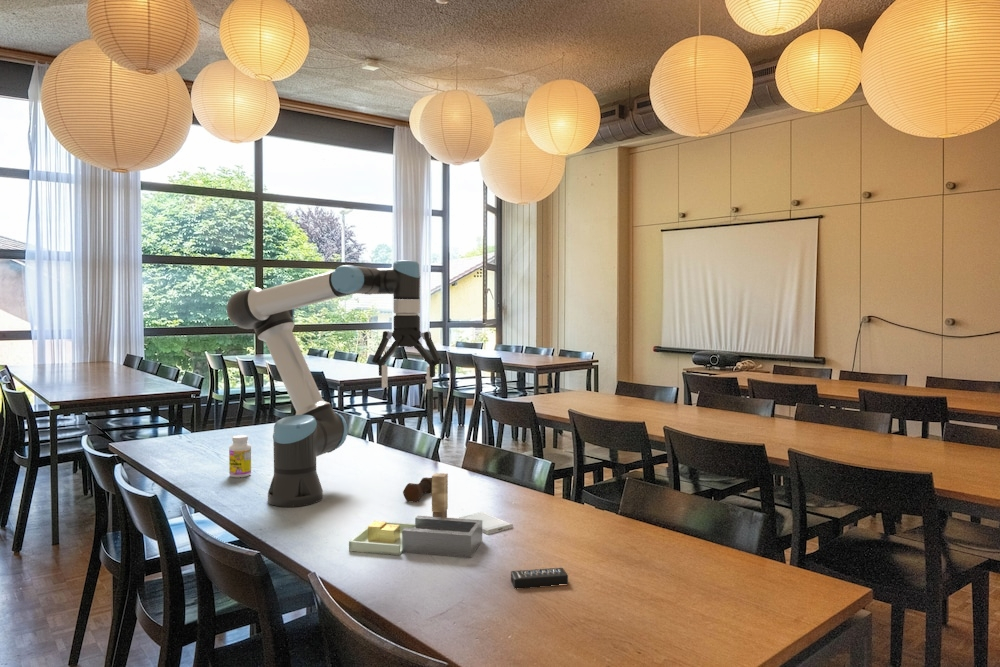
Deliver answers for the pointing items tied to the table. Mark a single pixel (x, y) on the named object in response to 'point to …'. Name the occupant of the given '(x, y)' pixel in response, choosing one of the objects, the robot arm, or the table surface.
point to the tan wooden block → (389, 533)
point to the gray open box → (443, 536)
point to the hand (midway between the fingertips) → (406, 388)
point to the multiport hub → (538, 577)
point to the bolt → (417, 489)
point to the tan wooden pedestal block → (440, 495)
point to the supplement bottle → (240, 457)
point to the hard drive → (489, 522)
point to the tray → (363, 545)
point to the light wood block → (375, 530)
